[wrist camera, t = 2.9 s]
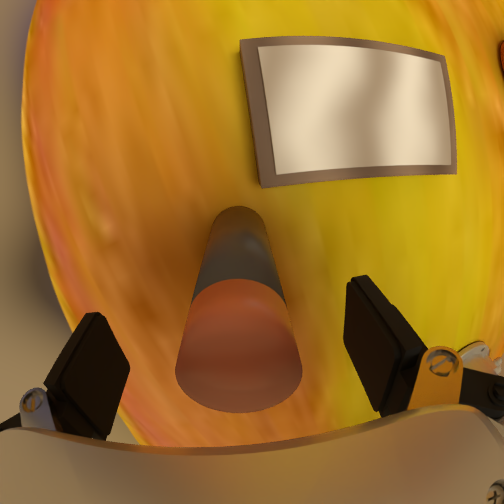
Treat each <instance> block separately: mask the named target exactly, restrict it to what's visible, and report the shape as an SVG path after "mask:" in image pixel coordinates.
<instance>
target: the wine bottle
mask: <svg viewBox="0 0 504 504" xmlns="http://www.w3.org/2000/svg"><path fill="white" fill-rule="evenodd" d="M501 62H502V67H503V71H504V42H503V43H502V45H501Z"/></svg>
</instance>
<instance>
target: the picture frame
mask: <svg viewBox="0 0 504 504" xmlns="http://www.w3.org/2000/svg"><path fill="white" fill-rule="evenodd" d="M240 56H241V62H242V69H243V75H244V82H245V88H246V95H247V101H248V108H249V115H250V122H251V129H252V136H253V143H254V150H255V157H256V164H257V171H258V178H259V184H260V186H261V188H269V187H277V186H285V185H294V184H303V183H312V182H322V181H332V180H344V179H356V178H370V177H386V176H406V175H439V174H457V150H456V131H455V118H454V109H453V100H452V93H451V87H450V80H449V75H448V70H447V65H446V60H445V56H443V55H439V54H436V53H432V52H428V51H424V50H420V49H416V48H411V47H407V46H402V45H396V44H391V43H385V42H378V41H371V40H363V39H354V38H342V37H325V36H281V37H264V38H252V39H242V40H240Z"/></svg>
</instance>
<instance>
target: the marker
mask: <svg viewBox="0 0 504 504" xmlns="http://www.w3.org/2000/svg"><path fill="white" fill-rule="evenodd" d="M175 374H176V379H177V382H178V384H179V386H180V387H181V389H182V390H183V391H184V392H185V393H186V394H187V395H188V396H189V397H190V398H191V399H193V400H194V401H196V402H198V403H199V404H201V405H203V406H206V407H208V408H211V409H214V410H218V411H223V412H230V413H248V412H256V411H260V410H264V409H267V408H270V407H273V406H275V405H277V404H279V403H281V402H282V401H284V400H285V399H287V398H288V397H289V396H290V395H291V394H292V393H293V392H294V391H295V390H296V389H297V387H298V386H299V383H300V381H301V378H302V364H301V360H300V357H299V353H298V349H297V345H296V341H295V337H294V333H293V329H292V325H291V321H290V318H289V314H288V310H287V306H286V302H285V299H284V295H283V291H282V287H281V284H280V280H279V276H278V273H277V269H276V265H275V261H274V258H273V254H272V251H271V247H270V243H269V240H268V236H267V232H266V229H265V225H264V222H263V220H262V218H261V217H260V216H259V215H258V214H257V213H256V212H255V211H253V210H252V209H250V208H247V207H243V206H234V207H230V208H228V209H226V210H224V211H222V212H221V213H220V214H219V215H218V216H217V217H216V219H215V221H214V223H213V227H212V230H211V233H210V237H209V240H208V244H207V247H206V251H205V254H204V258H203V261H202V265H201V268H200V272H199V275H198V279H197V283H196V287H195V290H194V294H193V298H192V302H191V305H190V309H189V313H188V317H187V321H186V325H185V329H184V333H183V337H182V341H181V346H180V350H179V354H178V358H177V363H176V367H175Z"/></svg>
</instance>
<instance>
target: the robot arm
mask: <svg viewBox="0 0 504 504" xmlns="http://www.w3.org/2000/svg"><path fill="white" fill-rule="evenodd" d="M343 341H344V345H345V347H346V349H347V352H348V354H349V356H350V358H351V360H352V362H353V365H354V367H355V369H356V371H357V373H358V376H359V378H360V380H361V382H362V385H363V387H364V389H365V391H366V394H367V396H368V398H369V401H370V403H371V405H372V407H373V409H374V411H375V412H377V411H379V413H380V415H381V417H382V418H379V419H376V420H373V421H369V422H366V423H362V424H359V425H355V426H351V427H347V428H343V429H339V430H335V431H331V432H326V433H322V434H317V435H312V436H307V437H302V438H296V439H290V440H284V441H277V442H270V443H262V444H252V445H241V446H227V447H159V446H145V445H133V444H124V443H117V442H110V441H106V438H107V435H109V434H110V432H111V429H112V426H113V422H114V419H115V415H116V412H117V409H118V406H119V402H120V399H121V396H122V393H123V390H124V387H125V384H126V381H127V378H128V375H129V372H130V365H129V362H128V360H127V359H126V357H125V355H124V353H123V351H122V349H121V347H120V346H119V344H118V342H117V340H116V338H115V336H114V334H113V332H112V330H111V328H110V326H109V324H108V322H107V320H106V318H105V316H103V315H102V314H101V313H99V312H92V313H86V314H85V315H84V317H83V318H82V320H81V321H80V323H79V324H78V326H77V328H76V329H75V331H74V332H73V334H72V335H71V337H70V339H69V340H68V342H67V343H66V345H65V347H64V348H63V350H62V352H61V354H60V355H59V357H58V358H57V360H56V362H55V364H54V365H53V367H52V369H51V370H50V372H49V374H48V376H47V378H46V379H45V381H44V383H43V384H44V385H45V386H46V387H47V389H48V390H47V392H45V390H43V389H42V388H33V389H30V390H29V391H27V392H26V393H25V395H23V397H22V399H21V401H20V405H19V408H20V413H18V414H16V415H15V416H13V417H11V418H10V419H8V420H6V421H4V422H3V423H1V424H0V504H504V377H502V376H498V374H499V373H500V372H501V366H500V364H501V363H502V359H501V357H498V358H496V359H494V360H493V361H492V360H491V359H490V358H489V356H488V355H489V348H488V346H487V345H486V344H485V343H484V342H476V343H473V344H471V345H469V346H467V347H466V348H464V349H462V350H461V351H460V352H458V353H457V352H456V351H455V350H453V349H451V348H448V347H445V346H436V347H432V348H430V349H428V348H427V347H426V346H425V344H424V343H423V342H422V340H421V339H420V338H419V336H418V335H417V334H416V332H415V331H414V330H413V328H412V327H411V326H410V324H409V323H408V322H407V321H406V319H405V318H404V317H403V315H402V314H401V313H400V312H399V310H398V309H397V308H396V307H395V306H394V305H392V304H391V303H390V302H389V301H388V300H387V298H386V297H385V296H384V295H383V293H382V292H381V291H380V290H379V288H378V287H377V286H376V285H375V284H374V282H373V281H372V280H371V279H370V278H369V276H367V275H362V276H357V277H352V278H351V282H348V283H347V286H346V306H345V321H344V334H343ZM389 415H390V416H389ZM92 438H93V439H92Z"/></svg>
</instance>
